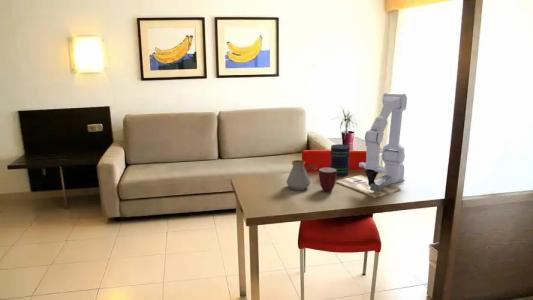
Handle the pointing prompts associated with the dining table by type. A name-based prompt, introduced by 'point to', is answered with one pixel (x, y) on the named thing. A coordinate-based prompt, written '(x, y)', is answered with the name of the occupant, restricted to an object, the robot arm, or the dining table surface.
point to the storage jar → (340, 159)
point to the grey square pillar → (381, 183)
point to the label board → (366, 186)
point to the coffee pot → (299, 176)
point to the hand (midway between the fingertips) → (371, 185)
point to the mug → (327, 178)
